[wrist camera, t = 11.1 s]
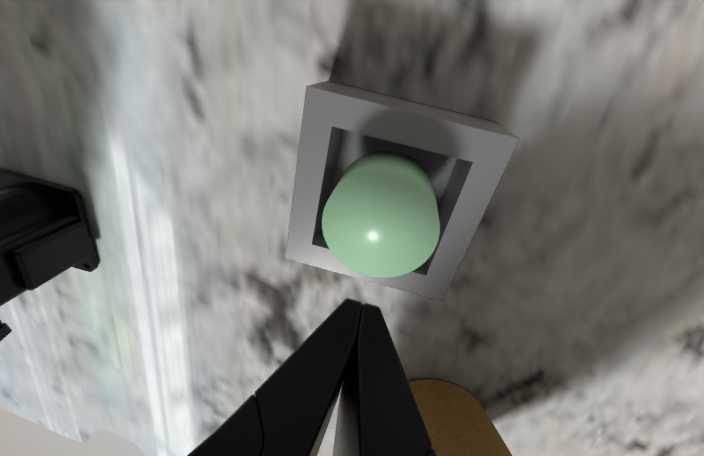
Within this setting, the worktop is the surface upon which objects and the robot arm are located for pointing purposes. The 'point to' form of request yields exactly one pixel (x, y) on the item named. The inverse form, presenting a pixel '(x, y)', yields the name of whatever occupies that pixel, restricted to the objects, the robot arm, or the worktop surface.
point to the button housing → (407, 138)
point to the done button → (382, 215)
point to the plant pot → (456, 420)
